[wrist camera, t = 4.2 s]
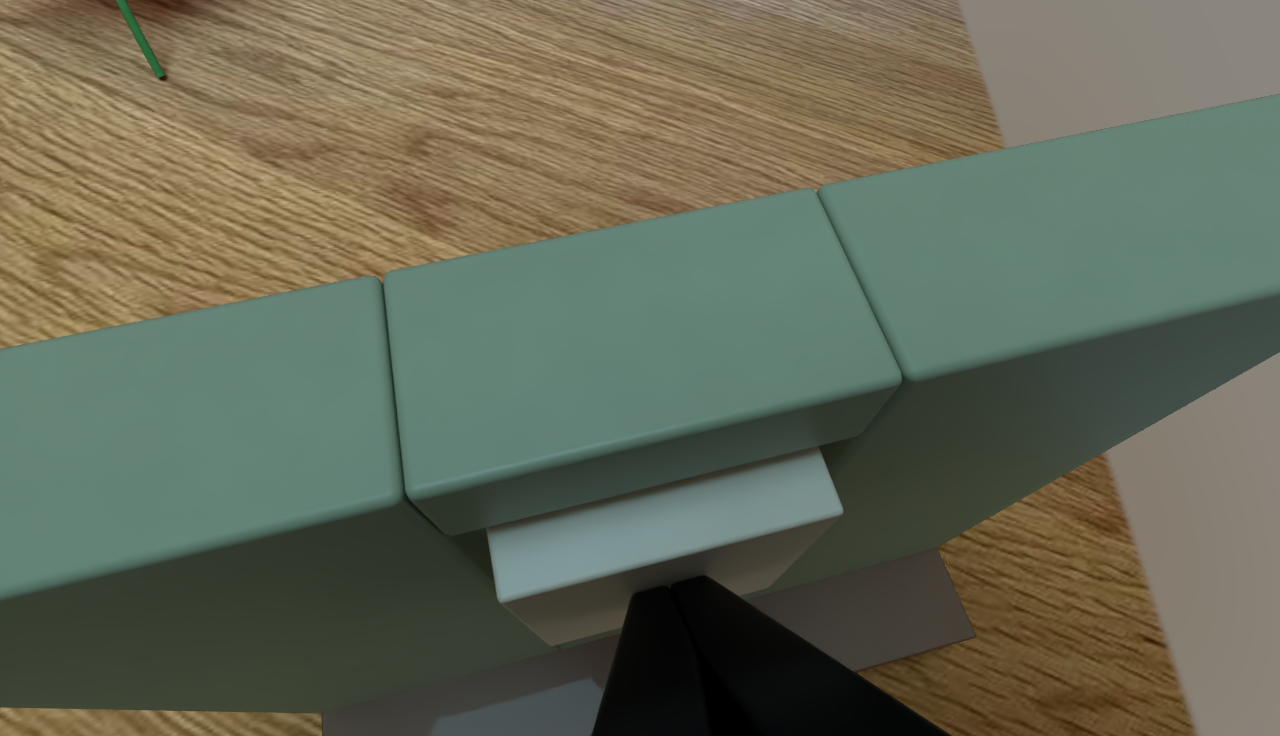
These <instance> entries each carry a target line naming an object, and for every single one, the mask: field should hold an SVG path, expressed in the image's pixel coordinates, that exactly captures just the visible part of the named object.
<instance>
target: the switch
mask: <svg viewBox="0 0 1280 736" xmlns="http://www.w3.org/2000/svg"><path fill="white" fill-rule="evenodd" d="M842 514H843V507H842V505H841V502H840V500H839V497H838V494H837V492H836V489H835V487H834V484H833V482H832V479H831V477H830V474H829V472H828V469H827V467H826V464H825V461H824V459H823V456H822V454H821V451H820V449H819V446H815V447H811V448H807V449H803V450H799V451H795V452H791V453H787V454H783V455H779V456H775V457H771V458H767V459H763V460H759V461H755V462H750V463H746V464H742V465H738V466H734V467H730V468H726V469H722V470H718V471H714V472H710V473H706V474H702V475H698V476H694V477H690V478H686V479H681V480H677V481H673V482H669V483H665V484H661V485H657V486H653V487H649V488H645V489H641V490H637V491H633V492H629V493H625V494H621V495H616V496H612V497H608V498H604V499H600V500H596V501H592V502H588V503H584V504H580V505H576V506H572V507H568V508H564V509H560V510H556V511H552V512H547V513H543V514H539V515H535V516H531V517H527V518H523V519H519V520H515V521H511V522H507V523H503V524H499V525H495V526H491V527H487V528H486V531H487V537H488V544H489V550H490V556H491V563H492V569H493V576H494V582H495V588H496V595H497V599H498V601H499V603H501V604H502V605H503V606H504V607H505V608H506V609H507V610H509V611H510V612H511V613H512V614H513V615H514V616H516V617H517V618H518V619H519V620H520V621H521V622H523V623H524V624H525V625H526V626H527V627H528V628H530V629H531V630H532V631H533V632H534V633H535V634H537V635H538V636H539V637H540V638H541V639H542V640H544V641H545V642H546V643H547V644H548V645H549V646H554V645H558V644H562V643H565V642H569V641H573V640H576V639H580V638H584V637H588V636H591V635H595V634H599V633H602V632H606V631H610V630H614V629H617V628H621V627H622V626H623V623H624V620H625V616H626V613H627V609H628V606H629V602H630V599H631V597H632V595H633V594H634V593H637V592H641V591H645V590H648V589H652V588H656V587H660V586H667V587H669V588H671V585H672V584H673V583H675V582H679V581H683V580H686V579H690V578H694V577H698V576H702V575H706V576H709V577H710V578H712V579H714V580H715V581H717V582H718V583H720V584H721V585H723V586H724V587H726V588H727V589H729V590H730V591H732V592H733V593H735V594H736V595H738V596H740V595H744V594H747V593H751V592H755V591H758V590H762V589H766V588H768V587H769V586H770V585H771V584H772V583H773V582H774V581H776V580H777V579H778V578H779V577H780V576H781V575H782V574H783V573H784V572H785V571H786V570H787V569H788V568H789V567H790V566H791V565H792V564H793V563H794V562H795V561H796V560H797V559H798V558H799V557H800V556H801V555H802V554H803V553H804V552H805V551H806V550H807V549H808V548H809V547H810V546H811V545H812V544H813V543H814V542H815V541H816V540H817V539H818V538H819V537H820V536H821V535H822V534H823V533H824V532H825V531H826V530H827V529H828V528H829V527H830V526H831V525H832V524H833V523H834V522H835V521H836V520H837V519H838V518H839V517H840V516H841V515H842Z"/></svg>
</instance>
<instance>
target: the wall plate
mask: <svg viewBox="0 0 1280 736" xmlns="http://www.w3.org/2000/svg"><path fill="white" fill-rule="evenodd" d="M1279 352H1280V94H1276V95H1271V96H1266V97H1261V98H1256V99H1252V100H1246V101H1241V102H1236V103H1231V104H1227V105H1221V106H1216V107H1211V108H1206V109H1201V110H1196V111H1191V112H1186V113H1181V114H1176V115H1171V116H1166V117H1161V118H1156V119H1151V120H1146V121H1141V122H1136V123H1131V124H1126V125H1121V126H1116V127H1111V128H1106V129H1101V130H1096V131H1091V132H1086V133H1081V134H1076V135H1071V136H1066V137H1061V138H1056V139H1051V140H1046V141H1041V142H1036V143H1031V144H1026V145H1021V146H1016V147H1011V148H1006V149H1001V150H996V151H991V152H986V153H981V154H976V155H971V156H966V157H961V158H956V159H951V160H946V161H941V162H936V163H931V164H926V165H920V166H915V167H910V168H905V169H900V170H895V171H890V172H885V173H880V174H875V175H870V176H865V177H860V178H855V179H850V180H845V181H840V182H835V183H830V184H826V185H824V186H822V187H821V188H820V189H819V190H818V191H817V193H816V192H815V191H814V190H813V189H811V188H803V189H798V190H793V191H788V192H783V193H778V194H773V195H768V196H763V197H758V198H753V199H748V200H743V201H738V202H733V203H728V204H723V205H718V206H713V207H708V208H703V209H698V210H693V211H688V212H683V213H678V214H673V215H668V216H663V217H658V218H653V219H648V220H643V221H638V222H633V223H628V224H623V225H618V226H613V227H608V228H603V229H598V230H593V231H588V232H583V233H578V234H573V235H568V236H563V237H558V238H553V239H548V240H543V241H538V242H533V243H528V244H523V245H518V246H513V247H508V248H503V249H498V250H493V251H488V252H483V253H478V254H473V255H468V256H463V257H458V258H453V259H448V260H443V261H438V262H433V263H428V264H423V265H418V266H413V267H408V268H403V269H398V270H393V271H390V272H388V273H386V274H385V276H384V280H383V284H382V282H381V281H380V279H379V278H377V277H376V276H364V277H359V278H354V279H349V280H344V281H339V282H334V283H329V284H324V285H319V286H314V287H309V288H304V289H299V290H294V291H289V292H284V293H279V294H274V295H269V296H264V297H259V298H254V299H249V300H244V301H239V302H234V303H229V304H224V305H219V306H214V307H209V308H204V309H199V310H194V311H189V312H184V313H179V314H174V315H169V316H164V317H159V318H154V319H149V320H144V321H139V322H134V323H129V324H124V325H119V326H114V327H109V328H104V329H99V330H94V331H89V332H84V333H79V334H74V335H69V336H64V337H59V338H54V339H49V340H44V341H39V342H33V343H28V344H23V345H18V346H13V347H8V348H3V349H0V707H6V708H60V709H114V710H167V711H221V712H275V713H322V736H591V735H592V731H593V728H594V724H595V721H596V717H597V714H598V710H599V707H600V703H601V700H602V696H603V693H604V689H605V686H606V682H607V679H608V675H609V672H610V668H611V665H612V661H613V658H614V654H615V651H616V647H617V644H618V640H619V637H620V633H621V630H622V627H621V628H617V629H614V630H610V631H606V632H602V633H599V634H595V635H591V636H588V637H584V638H580V639H576V640H573V641H569V642H565V643H562V644H558V645H554V646H549V645H548V644H547V643H546V642H545V641H544V640H542V639H541V638H540V637H539V636H538V635H537V634H535V633H534V632H533V631H532V630H531V629H530V628H528V627H527V626H526V625H525V624H524V623H523V622H521V621H520V620H519V619H518V618H517V617H516V616H514V615H513V614H512V613H511V612H510V611H509V610H507V609H506V608H505V607H504V606H503V605H502V604H501V603H499V601H498V599H497V595H496V588H495V582H494V576H493V569H492V563H491V556H490V550H489V544H488V537H487V531H486V528H487V527H491V526H495V525H499V524H503V523H507V522H511V521H515V520H519V519H523V518H527V517H531V516H535V515H539V514H543V513H547V512H552V511H556V510H560V509H564V508H568V507H572V506H576V505H580V504H584V503H588V502H592V501H596V500H600V499H604V498H608V497H612V496H616V495H621V494H625V493H629V492H633V491H637V490H641V489H645V488H649V487H653V486H657V485H661V484H665V483H669V482H673V481H677V480H681V479H686V478H690V477H694V476H698V475H702V474H706V473H710V472H714V471H718V470H722V469H726V468H730V467H734V466H738V465H742V464H746V463H750V462H755V461H759V460H763V459H767V458H771V457H775V456H779V455H783V454H787V453H791V452H795V451H799V450H803V449H807V448H811V447H815V446H819V449H820V451H821V454H822V456H823V459H824V461H825V464H826V467H827V469H828V472H829V474H830V477H831V479H832V482H833V484H834V487H835V489H836V492H837V494H838V497H839V500H840V502H841V505H842V507H843V514H842V515H841V516H840V517H839V518H838V519H837V520H836V521H835V522H834V523H833V524H832V525H831V526H830V527H829V528H828V529H827V530H826V531H825V532H824V533H823V534H822V535H821V536H820V537H819V538H818V539H817V540H816V541H815V542H814V543H813V544H812V545H811V546H810V547H809V548H808V549H807V550H806V551H805V552H804V553H803V554H802V555H801V556H800V557H799V558H798V559H797V560H796V561H795V562H794V563H793V564H792V565H791V566H790V567H789V568H788V569H787V570H786V571H785V572H784V573H783V574H782V575H781V576H780V577H779V578H778V579H777V580H776V581H774V582H773V583H772V584H771V585H770V586H769V587H768V588H766V589H762V590H758V591H755V592H751V593H747V594H744V595H740V596H739V597H741V598H742V599H744V600H746V601H747V602H749V603H750V604H752V605H753V606H755V607H756V608H758V609H759V610H761V611H762V612H764V613H765V614H767V615H768V616H770V617H771V618H773V619H774V620H776V621H778V622H779V623H781V624H782V625H784V626H785V627H787V628H788V629H790V630H791V631H793V632H794V633H796V634H797V635H799V636H800V637H802V638H803V639H805V640H807V641H808V642H810V643H811V644H813V645H814V646H816V647H817V648H819V649H820V650H822V651H823V652H825V653H826V654H828V655H829V656H831V657H832V658H834V659H835V660H837V661H839V662H840V663H842V664H843V665H845V666H846V667H848V668H849V669H851V670H852V671H854V672H858V671H861V670H865V669H868V668H872V667H875V666H879V665H882V664H886V663H889V662H893V661H896V660H899V659H903V658H906V657H910V656H913V655H917V654H920V653H924V652H927V651H931V650H934V649H938V648H941V647H944V646H948V645H951V644H955V643H958V642H962V641H965V640H969V639H972V638H975V637H976V634H975V632H974V630H973V628H972V625H971V623H970V621H969V619H968V616H967V614H966V612H965V610H964V607H963V605H962V603H961V601H960V598H959V596H958V594H957V592H956V589H955V587H954V585H953V582H952V580H951V578H950V576H949V573H948V571H947V569H946V567H945V564H944V562H943V560H942V558H941V555H940V553H939V551H938V549H937V547H938V546H940V545H942V544H944V543H945V542H947V541H949V540H951V539H952V538H954V537H956V536H958V535H959V534H961V533H963V532H965V531H966V530H968V529H970V528H972V527H973V526H975V525H977V524H979V523H980V522H982V521H984V520H986V519H987V518H989V517H991V516H993V515H994V514H996V513H998V512H1000V511H1001V510H1003V509H1005V508H1007V507H1008V506H1010V505H1012V504H1014V503H1015V502H1017V501H1019V500H1021V499H1022V498H1024V497H1026V496H1028V495H1030V494H1031V493H1033V492H1035V491H1037V490H1038V489H1040V488H1042V487H1044V486H1045V485H1047V484H1049V483H1051V482H1052V481H1054V480H1056V479H1058V478H1059V477H1061V476H1063V475H1065V474H1066V473H1068V472H1070V471H1072V470H1073V469H1075V468H1077V467H1079V466H1080V465H1082V464H1084V463H1086V462H1087V461H1089V460H1091V459H1093V458H1094V457H1096V456H1098V455H1100V454H1101V453H1103V452H1105V451H1107V450H1108V449H1110V448H1112V447H1114V446H1115V445H1117V444H1119V443H1120V442H1122V441H1124V440H1126V439H1128V438H1130V437H1131V436H1133V435H1135V434H1137V433H1138V432H1140V431H1142V430H1144V429H1145V428H1147V427H1149V426H1151V425H1152V424H1154V423H1156V422H1158V421H1159V420H1161V419H1163V418H1165V417H1166V416H1168V415H1170V414H1172V413H1173V412H1175V411H1177V410H1179V409H1180V408H1182V407H1184V406H1186V405H1187V404H1189V403H1191V402H1193V401H1194V400H1196V399H1198V398H1200V397H1201V396H1203V395H1205V394H1207V393H1208V392H1210V391H1212V390H1214V389H1216V388H1217V387H1219V386H1221V385H1222V384H1224V383H1226V382H1228V381H1229V380H1231V379H1233V378H1235V377H1237V376H1238V375H1240V374H1242V373H1243V372H1245V371H1247V370H1249V369H1251V368H1252V367H1254V366H1256V365H1258V364H1259V363H1261V362H1263V361H1265V360H1266V359H1268V358H1270V357H1272V356H1273V355H1275V354H1277V353H1279Z"/></svg>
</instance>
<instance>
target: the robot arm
mask: <svg viewBox="0 0 1280 736" xmlns="http://www.w3.org/2000/svg"><path fill="white" fill-rule="evenodd" d="M591 736H951V735H950V734H948V733H947V732H945V731H944V730H942V729H941V728H939V727H938V726H936V725H935V724H933V723H931V722H930V721H928V720H927V719H925V718H924V717H922V716H921V715H919V714H918V713H916V712H915V711H913V710H912V709H910V708H909V707H907V706H906V705H904V704H903V703H901V702H899V701H898V700H896V699H895V698H893V697H892V696H890V695H889V694H887V693H886V692H884V691H883V690H881V689H880V688H878V687H877V686H875V685H874V684H872V683H871V682H869V681H867V680H866V679H864V678H863V677H861V676H860V675H858V674H857V673H855V672H854V671H852V670H851V669H849V668H848V667H846V666H845V665H843V664H842V663H840V662H839V661H837V660H835V659H834V658H832V657H831V656H829V655H828V654H826V653H825V652H823V651H822V650H820V649H819V648H817V647H816V646H814V645H813V644H811V643H810V642H808V641H807V640H805V639H803V638H802V637H800V636H799V635H797V634H796V633H794V632H793V631H791V630H790V629H788V628H787V627H785V626H784V625H782V624H781V623H779V622H778V621H776V620H774V619H773V618H771V617H770V616H768V615H767V614H765V613H764V612H762V611H761V610H759V609H758V608H756V607H755V606H753V605H752V604H750V603H749V602H747V601H746V600H744V599H742V598H741V597H739V596H738V595H736V594H735V593H733V592H732V591H730V590H729V589H727V588H726V587H724V586H723V585H721V584H720V583H718V582H717V581H715V580H714V579H712V578H710V577H709V576H706V575H702V576H698V577H694V578H690V579H686V580H683V581H679V582H675V583H673V584H672V585H671V588H669V587H667V586H660V587H656V588H652V589H648V590H645V591H641V592H637V593H634V594H633V595H632V597H631V599H630V602H629V606H628V609H627V613H626V616H625V620H624V623H623V626H622V630H621V633H620V637H619V640H618V644H617V647H616V651H615V654H614V658H613V661H612V665H611V668H610V672H609V675H608V679H607V682H606V686H605V689H604V693H603V696H602V700H601V703H600V707H599V710H598V714H597V717H596V721H595V724H594V728H593V731H592V735H591Z"/></svg>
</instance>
